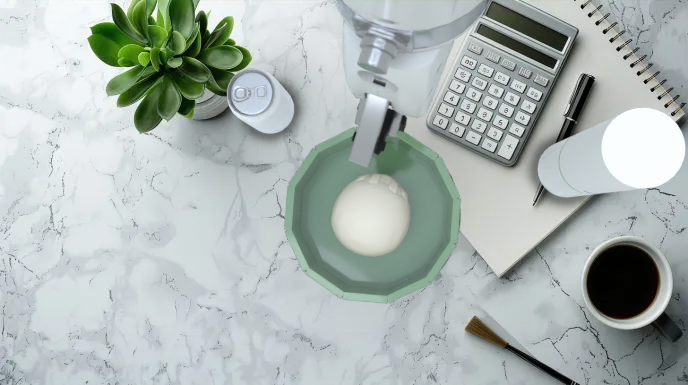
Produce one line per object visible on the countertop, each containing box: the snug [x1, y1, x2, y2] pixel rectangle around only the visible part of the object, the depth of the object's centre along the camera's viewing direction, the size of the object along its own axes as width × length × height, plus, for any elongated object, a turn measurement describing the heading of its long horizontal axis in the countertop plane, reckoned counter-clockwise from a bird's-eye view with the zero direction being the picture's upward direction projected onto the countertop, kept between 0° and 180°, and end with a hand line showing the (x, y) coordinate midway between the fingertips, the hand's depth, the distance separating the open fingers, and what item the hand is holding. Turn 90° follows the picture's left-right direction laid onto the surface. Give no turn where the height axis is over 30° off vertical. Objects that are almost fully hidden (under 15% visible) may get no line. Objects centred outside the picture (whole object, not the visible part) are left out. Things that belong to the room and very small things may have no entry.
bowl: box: [283, 126, 462, 305], centre depth 54 cm, size 15×15×5 cm
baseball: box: [331, 174, 411, 257], centre depth 53 cm, size 7×7×7 cm
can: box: [226, 67, 295, 135], centre depth 77 cm, size 6×6×12 cm
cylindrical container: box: [537, 107, 686, 198], centre depth 67 cm, size 7×7×25 cm
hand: (406, 55), depth 43 cm, fingers open, 9 cm apart
